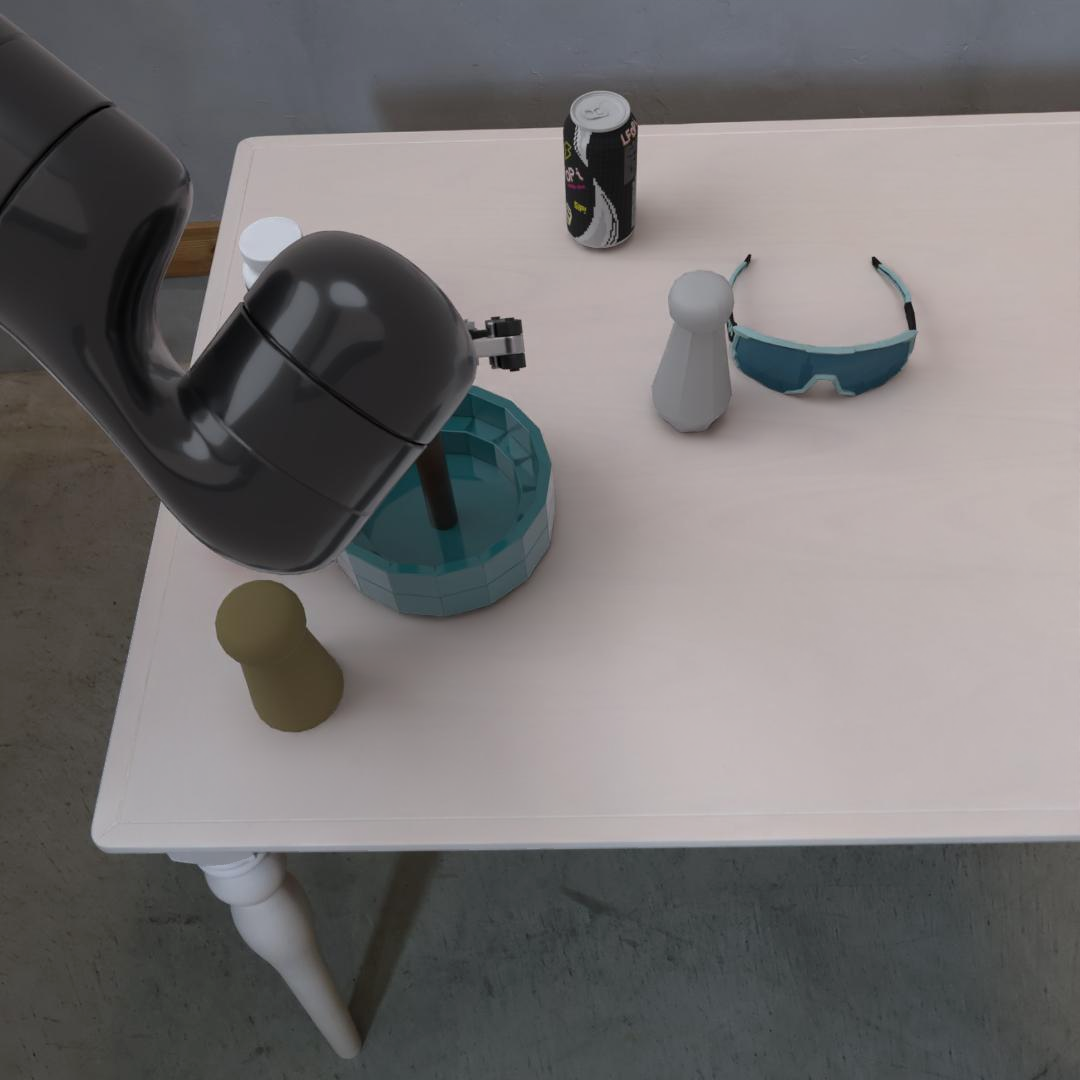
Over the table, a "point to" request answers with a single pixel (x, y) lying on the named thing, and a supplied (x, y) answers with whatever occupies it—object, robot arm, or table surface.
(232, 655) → the cork
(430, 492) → the stick
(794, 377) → the sunglasses
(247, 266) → the pill bottle
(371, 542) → the bowl
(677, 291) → the salt shaker
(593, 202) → the beverage can
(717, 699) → the table surface
